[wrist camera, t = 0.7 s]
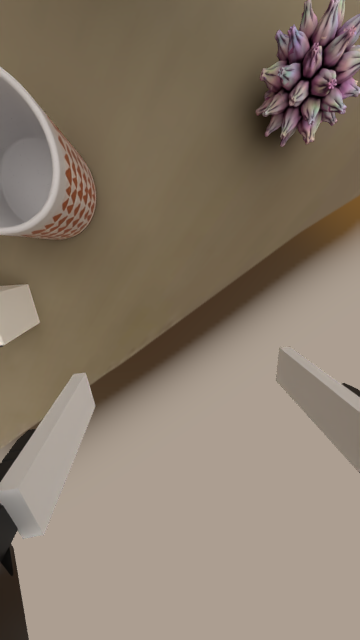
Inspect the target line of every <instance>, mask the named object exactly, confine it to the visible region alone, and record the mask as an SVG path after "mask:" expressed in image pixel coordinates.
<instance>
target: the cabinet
mask: <svg viewBox="0 0 360 640" xmlns="http://www.w3.org/2000/svg"><path fill="white" fill-rule="evenodd" d="M39 323H40V321H39V317H38V314H37V311H36V308H35V305H34V301H33V298H32V295H31V292H30V288H29V285H28V284H23V285H7V286H0V347H2V346H4V345H5V344H7V343H8V342H10V341H12V340H13V339H15V338H16V337H18V336H20V335H21V334H23V333H24V332H26V331H28V330H29V329H31V328H32V327H34V326H36V325H37V324H39Z"/></svg>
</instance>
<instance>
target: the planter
mask: <svg viewBox="0 0 360 640" xmlns="http://www.w3.org/2000/svg"><path fill="white" fill-rule="evenodd" d="M95 207H96V189H95V184H94V180H93V177H92V175H91V172H90V170H89V168H88V166H87V165H86V163H85V161H84V160H83V158H82V157H81V156H80V155H79V153H78V152H77V151H76V150H75V148H74V147H73V146H72V145H71V144H70V142H69V141H68V140H67V139H66V138H65V136H64V135H63V134H62V133H61V131H60V130H59V129H58V128H57V127H56V125H55V124H54V123H53V122H52V121H51V119H50V118H49V117H48V116H47V115H46V113H45V112H44V111H43V110H42V108H41V107H40V106H39V105H38V104H37V102H36V101H35V100H34V99H33V98H32V96H31V95H30V94H29V93H28V92H27V91H26V89H25V88H24V87H23V86H22V85H21V84H20V83H19V82H18V81H17V80H16V79H15V78H14V77H12V76H11V75H10V74H9V73H8V72H7V71H5V70H4V69H3V68H1V67H0V235H7V236H18V237H29V238H41V239H52V240H62V239H68V238H71V237H74V236H76V235H78V234H79V233H81V232H82V231H83V230H84V229H85V228H86V227H87V226H88V224H89V223H90V221H91V219H92V217H93V215H94V212H95Z"/></svg>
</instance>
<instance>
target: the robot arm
mask: <svg viewBox="0 0 360 640" xmlns="http://www.w3.org/2000/svg"><path fill="white" fill-rule="evenodd" d="M276 381H277V382H278V383H279V384H280V385H281V387H282V388H283V389H284V390H285V391H286V392H287V393H288V394H289V395H290V397H291V398H292V399H293V400H294V401H295V402H296V403H297V404H298V405H299V407H300V408H301V409H302V410H303V411H304V412H305V413H306V414H307V415H308V417H309V418H310V419H311V420H312V421H313V422H314V423H315V424H316V425H317V427H318V428H319V429H320V430H321V431H322V432H323V433H324V434H325V435H326V436H327V438H328V439H329V440H330V441H331V442H332V443H333V444H334V445H335V446H336V448H337V449H338V450H339V451H340V452H341V453H342V454H343V455H344V456H345V458H346V459H347V460H348V461H349V462H350V463H351V464H352V465H353V466H354V468H355V469H356V470H357V471H358V472H359V473H360V391H359V390H358V389H356V388H354V387H352V386H350V385H347V384H345V383H343V384H341V383H339V382H338V381H337V380H335V379H334V378H332V377H331V376H330V375H328V374H327V373H326V372H324V371H323V370H322V369H320V368H319V367H317V366H316V365H315V364H313V363H312V362H311V361H309V360H308V359H306V358H305V357H304V356H302V355H301V354H300V353H298V352H297V351H296V350H294V349H293V348H291V347H290V346H288V347H281V348H279V355H278V365H277V375H276ZM94 408H95V403H94V400H93V397H92V393H91V389H90V386H89V382H88V379H87V376H86V373H79V374H73V376H72V377H71V379H70V380H69V382H68V383H67V385H66V386H65V388H64V389H63V390H62V392H61V393H60V395H59V396H58V398H57V399H56V401H55V402H54V404H53V405H52V407H51V408H50V410H49V411H48V413H47V414H46V416H45V417H44V419H43V420H42V422H41V423H40V424H39V426H38V427H37V429H32V430H28V431H27V432H26V433H25V434H24V435H23V436H21V437H20V438H19V439H18V440H17V441H16V443H15V444H14V445H13V447H12V448H11V449H10V451H9V453H8V454H7V455H6V456H5V458H4V459H3V460H2V463H0V640H29V638H28V633H27V626H26V621H25V614H24V608H23V602H22V597H21V591H20V584H19V578H18V572H17V566H16V561H15V554H14V549H13V546H12V545H11V542H12V540H13V538H14V536H15V534H16V532H17V530H18V532H19V533H20V535H21V536H22V538H23V539H25V538H30V537H36V536H41V535H44V534H45V531H46V529H47V526H48V524H49V521H50V519H51V516H52V514H53V511H54V509H55V506H56V504H57V501H58V499H59V496H60V494H61V491H62V489H63V486H64V484H65V481H66V479H67V476H68V473H69V471H70V469H71V466H72V464H73V461H74V459H75V456H76V454H77V451H78V449H79V446H80V444H81V441H82V438H83V436H84V434H85V431H86V428H87V426H88V423H89V421H90V418H91V416H92V413H93V411H94Z"/></svg>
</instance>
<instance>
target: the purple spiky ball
mask: <svg viewBox="0 0 360 640" xmlns="http://www.w3.org/2000/svg"><path fill="white" fill-rule="evenodd" d="M344 11H345V0H331V1H330V4H329V7H328V9H327V10H326V12H325V13H324V15H323V16H322V17H321V19H320V21H319V22H317V17H316V15H315V14H314V12H313V10H312V5H311V0H307V1H305V3H304V12H303V13H302V21H301V24H300V29H299V31H298V30H297V29H296V27H295V25H293V26H292V27H290V29H289V30H288V35H285V34H283V33H282V32H281V30H278V31H277V33H276V36H275V39H276V41H277V43H278V53H277V57H278V59H279V61H278V62H276V63H275V64H274V65H272V66H271V67H270V68H263V70H262V72H261V75H260V80H262V81H264V82H265V83H266V85H267V87H268V88H269V90H268V91H266V93H265V95H264V97H265V98H264V99H265V101H264V102H263V104H262V105H261V106H260V107H259V108H258V109H257V110H256V111H255V112H256V114H257V116H258V115H260V114H262V116H265V117H266V116H268V115H272V116H271V120H270V123H269V125H268V126H267V128H266V130H267V131H266V132H265V137H266V136H268V135H269V134H270V133H272V132H273V131H275V130H277V129H278V128H279V127H281V126H282V132H281V135H280V137H281V139H282V140H281V143H280V145H281V147H282V146H285V144H286V142H287V140H288V139H289V138H290V137H291V136H292V135H293V134H294V133H295V131H296V129H297V128H298V131H299V133H300V134H302V136H303V140H304V141H305V143H306V145H307V143H308V144H309V143H310V142H312V141H314V136H315V132H316V130H317V128H318V126H319V124H320V123H321V122H322V121H325V122H328V123H329V124H330V125H331V126H332V125H334V123H336V122H337V119H336V117H335V112H338V113H340V114H344V113H345V109H346V108H347V107H346V106H345V105H344V103H343V101H342V99H345V98H347V97H350V96H353V97H357V96H358V94H359V93H360V87H358V86H357V82H358V81H356V80H354V79H353V78H352V76H353V75H354V74H355V73H356V72H357V71H358V70H359V69H360V45H356V46H355V45H354V43H355V42H356V41H357V39H358V37H359V35H360V14H358V15H356V16H354V17H352V18H351V19H350V20H348V21H347V22H346V23H345V24H344V25H343V26H342V27H341V24H342V21H343V18H344ZM340 27H341V28H340Z"/></svg>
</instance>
